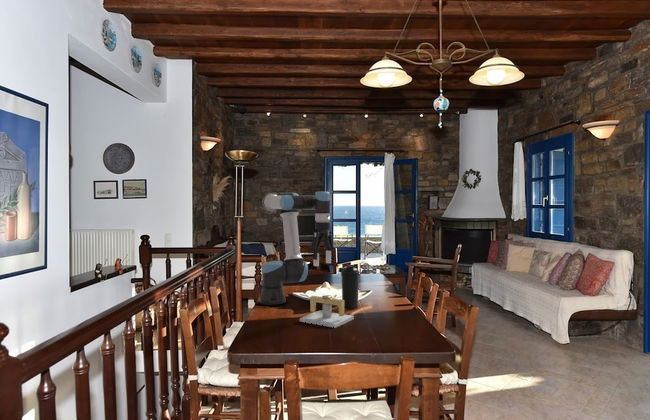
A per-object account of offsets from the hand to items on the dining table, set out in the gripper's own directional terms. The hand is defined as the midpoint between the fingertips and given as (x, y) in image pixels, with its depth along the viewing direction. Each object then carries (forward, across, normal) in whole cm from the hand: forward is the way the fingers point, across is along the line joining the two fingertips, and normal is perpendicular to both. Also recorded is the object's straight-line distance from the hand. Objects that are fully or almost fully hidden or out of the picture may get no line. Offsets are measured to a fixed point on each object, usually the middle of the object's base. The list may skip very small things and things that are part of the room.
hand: (322, 264), depth 225 cm
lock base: (+26, -7, -7) cm, 28 cm away
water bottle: (+26, +22, -4) cm, 35 cm away
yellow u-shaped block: (+23, -7, -7) cm, 25 cm away
